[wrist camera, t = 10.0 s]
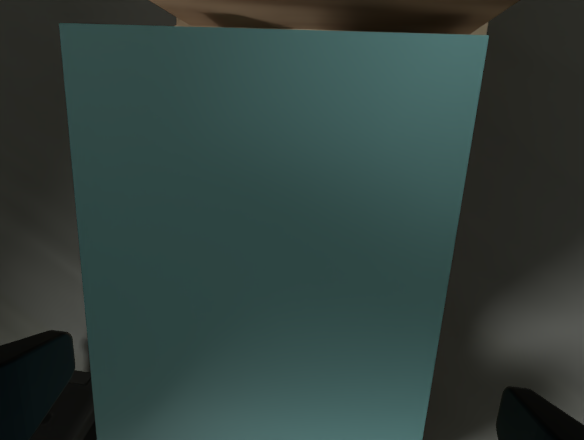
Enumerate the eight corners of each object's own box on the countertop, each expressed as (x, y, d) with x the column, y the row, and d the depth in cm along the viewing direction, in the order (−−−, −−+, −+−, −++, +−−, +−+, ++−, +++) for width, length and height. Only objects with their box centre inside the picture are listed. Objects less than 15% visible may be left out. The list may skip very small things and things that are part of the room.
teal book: (381, 97, 13) (489, 35, 3) (349, 404, 16) (357, 829, 6) (263, 91, 13) (58, 23, 4) (253, 391, 16) (127, 772, 7)
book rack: (486, -27, 13) (649, -194, 6) (406, 472, 18) (445, 689, 11) (187, -31, 14) (35, -176, 7) (193, 440, 19) (109, 619, 12)
